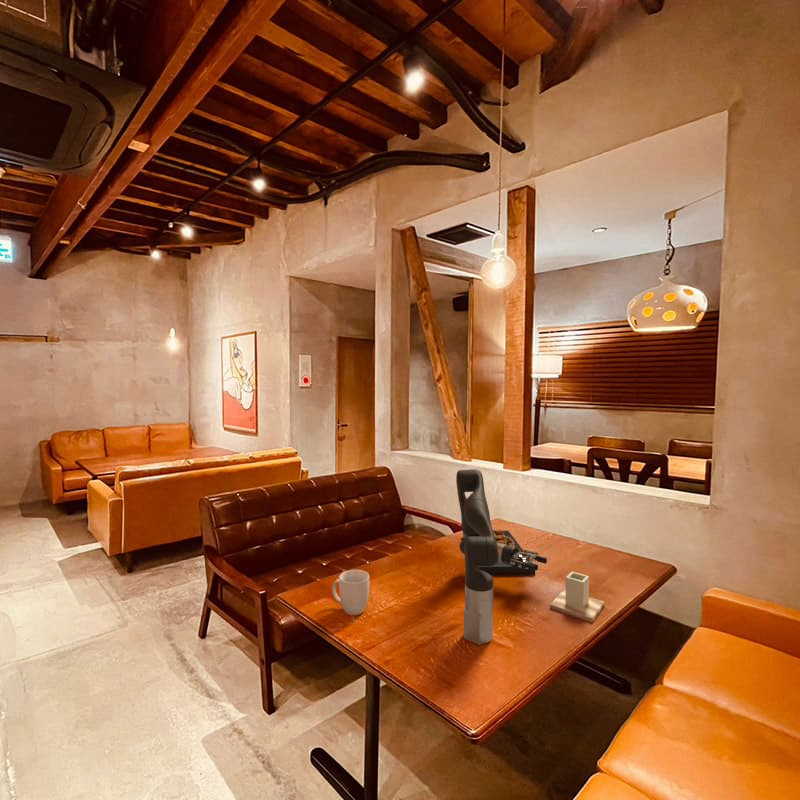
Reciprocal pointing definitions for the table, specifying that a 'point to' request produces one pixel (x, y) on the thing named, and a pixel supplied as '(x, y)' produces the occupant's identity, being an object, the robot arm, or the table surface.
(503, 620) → the table surface
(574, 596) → the cream square bin
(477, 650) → the table surface
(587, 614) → the post base
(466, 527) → the robot arm
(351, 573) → the mug
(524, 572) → the food platter
